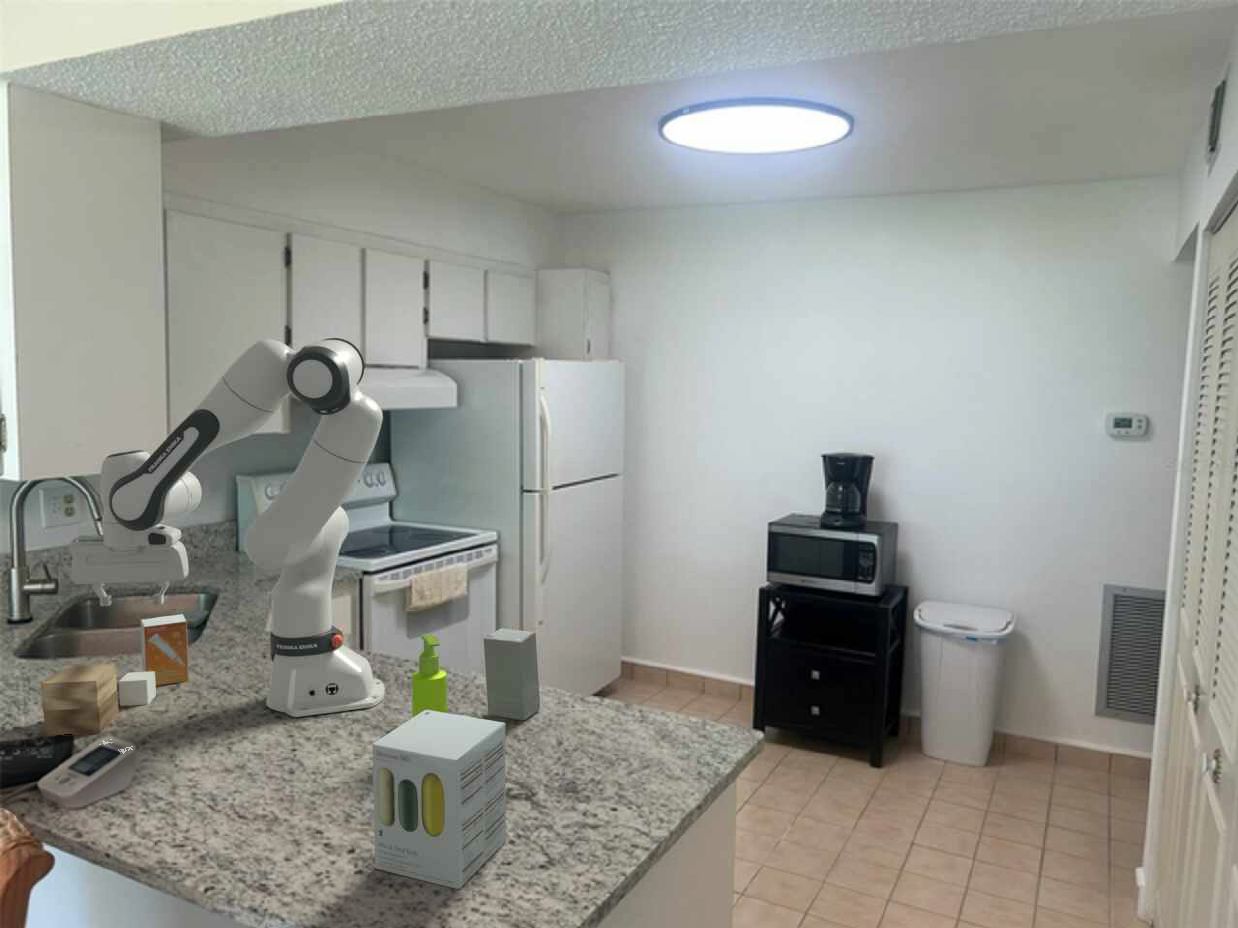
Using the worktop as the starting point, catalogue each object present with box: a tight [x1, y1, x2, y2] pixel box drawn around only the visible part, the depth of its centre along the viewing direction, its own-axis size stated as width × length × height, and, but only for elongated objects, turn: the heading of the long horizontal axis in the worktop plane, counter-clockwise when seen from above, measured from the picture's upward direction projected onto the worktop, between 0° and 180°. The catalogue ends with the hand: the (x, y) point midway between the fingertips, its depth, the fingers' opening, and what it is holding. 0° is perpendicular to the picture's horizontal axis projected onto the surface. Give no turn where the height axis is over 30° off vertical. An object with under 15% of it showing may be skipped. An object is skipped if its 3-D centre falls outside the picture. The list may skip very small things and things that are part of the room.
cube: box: [118, 671, 157, 707], centre depth 176 cm, size 5×5×5 cm
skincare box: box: [483, 627, 541, 721], centre depth 171 cm, size 8×7×16 cm
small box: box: [140, 613, 190, 687], centre depth 187 cm, size 8×6×13 cm
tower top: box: [40, 663, 118, 712], centre depth 164 cm, size 9×9×5 cm
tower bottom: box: [43, 689, 119, 737], centre depth 164 cm, size 9×9×5 cm
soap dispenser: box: [411, 633, 448, 718], centre depth 155 cm, size 6×7×20 cm
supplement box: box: [371, 710, 507, 890], centre depth 121 cm, size 13×13×18 cm
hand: (132, 604), depth 174 cm, fingers open, 8 cm apart
